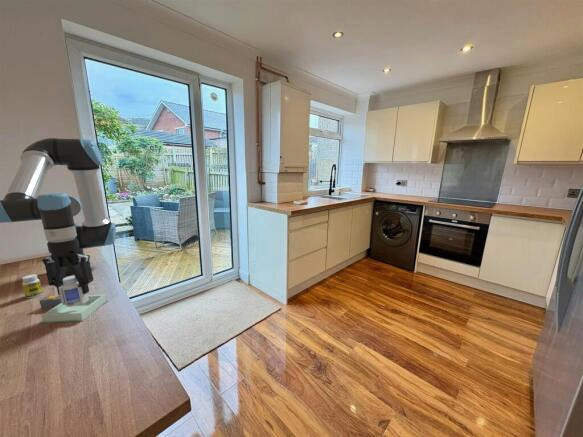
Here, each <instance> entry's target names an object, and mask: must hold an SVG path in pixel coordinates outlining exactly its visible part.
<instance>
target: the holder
mask: <svg viewBox="0 0 583 437" xmlns="http://www.w3.org/2000/svg"><path fill="white" fill-rule="evenodd" d="M61 303H62V301H61V297H60V295H58V294H56V295H50V296H45V297H43V298H41V299H39V305H40V309H41V310H51V309H53V308H54V307H56V306H57V305H59V304H61Z"/></svg>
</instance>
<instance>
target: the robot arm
mask: <svg viewBox="0 0 583 437" xmlns="http://www.w3.org/2000/svg"><path fill="white" fill-rule="evenodd" d="M102 158H103V157H102V154H101V151H100V149H99V147H98V145H97V143H96V142H95V141H93V140H92V139H83V138H82V139H81V138H55V137H53V138H52V137H49V138H44V139H40V140H37V141H35V142H33V143H31V144H30V145H28V146H27V147H26V148H25V149H24V150H23V151H22V152H21V155H20V161H21V163H20V165H19V168H18V169H17V171H16V173H15V175H14V178H13V180H12V181H11V184H10V186H9V188H8V190H7V192H6V194H5V196H4V197H3V199H0V224H1V223H3V224H4V223H16V222H18V223H20V222H30V221H41V223H42V227H43V230H44V231H43V232H44V235H45V240H46V241H47V243H46V245H47V250H48V253H49V254H51V255H50V256H46V257H44V258H43V259H42V260H41V261H42V263H43V264H44V267H45V271H46V277H47V282H48V286H50V287H52V286H54V287H55V288H56V291H57V295H58V296H60V297H61V301H62V305H65V300H64V296H63V292H62V286H63V285H64V283H63V279H64V278H66V276H69V275H70V276H71V275H74V276H75V277H76V279H77V281H78V283H79V286H78V292H79V297H80V301H81V304H84V303H85V302H87V301H88V300H89V296H88V295H89V292H90V288H89V284H90V283H92V282H94V276H93V272H92V268H91V262H90V258H91V255H89V254H87V255H86V254H85V253H84V249H90V248H97V247H106V246H110V245H111V246H112V245H114V243H116V237H117V235H116V233H117V231H116V230H117V226H116V223H115V222H112V221H111V218H108V217H107V215H106V210H105V205H104V200H103V194H102V191H101V186H100V182H99V177H98V171H99V170H100V166H103V159H102ZM54 166H66V167H67V170H68V171H69V172H70V173H72V174H73V178H74V181H75V182H74V183H75V186H76V189H77V194H78V197H79V198H77V197H74V196H71V195H69V194H68V193H65V192H53V193H51V192H50V193H41V189H42V187H43V185H44V182H45V179H46V176H47V174H48V172H49V170H51V169H52V168H53V167H54ZM40 193H41V194H40ZM81 211H82V214H83V217H84V218H83V219H84V221H83V222H81V225H79V224H78V223H75V219H74V217H75V216H77V215H78V214H79V213H80V212H81Z"/></svg>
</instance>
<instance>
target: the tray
mask: <svg viewBox="0 0 583 437" xmlns="http://www.w3.org/2000/svg"><path fill="white" fill-rule="evenodd" d="M88 296H89V300H88V301H87V302H85V303H84V304H79V305H76V306H72V307H68V306H66V304H65V305H62V303H61V304H59V305H57V306H56V307H54V308H52V309H48V311H46V312H45V313H43V314H42V315H41V318H42V322H43V324H55V323H56V324H57V323H74V322H75V323H76V322H83V321H85V320H86V319H87V318H89V317H90V316H91V315H92V314H94V313H96V311H98V310H99V309H100V308H101V307H103V305H105V304H107V303H108V297H107V294H105V293H104V294H88Z"/></svg>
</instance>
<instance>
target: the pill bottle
mask: <svg viewBox="0 0 583 437" xmlns="http://www.w3.org/2000/svg"><path fill="white" fill-rule="evenodd" d="M63 283H64V285H63V286H62V292H63V296H64V300H65V304H66V306H68V307H72V306H76V305H79V304H81V301H80V297H79V292H78V286H79V283H78V281H77V279H76V277H75V276H74V274H72V275H70V276H69V275H68V276H65V278H64V279H63Z"/></svg>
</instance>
